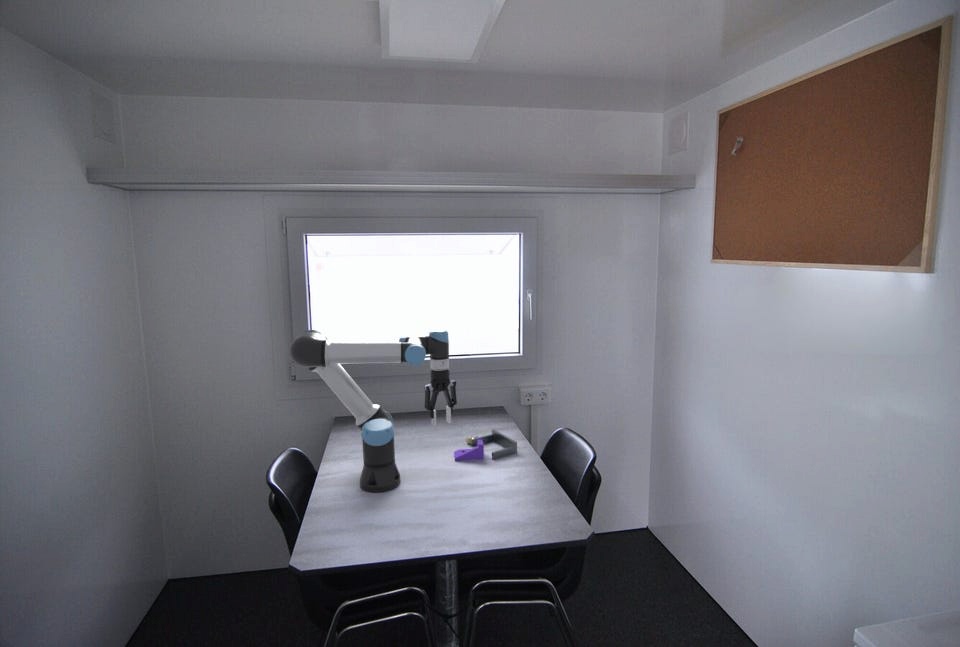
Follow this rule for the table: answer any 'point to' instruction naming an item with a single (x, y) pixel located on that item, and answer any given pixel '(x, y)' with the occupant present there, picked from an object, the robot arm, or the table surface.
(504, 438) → the dock
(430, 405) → the robot arm
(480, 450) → the bracket
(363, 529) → the table surface
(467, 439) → the brass key
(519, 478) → the table surface
